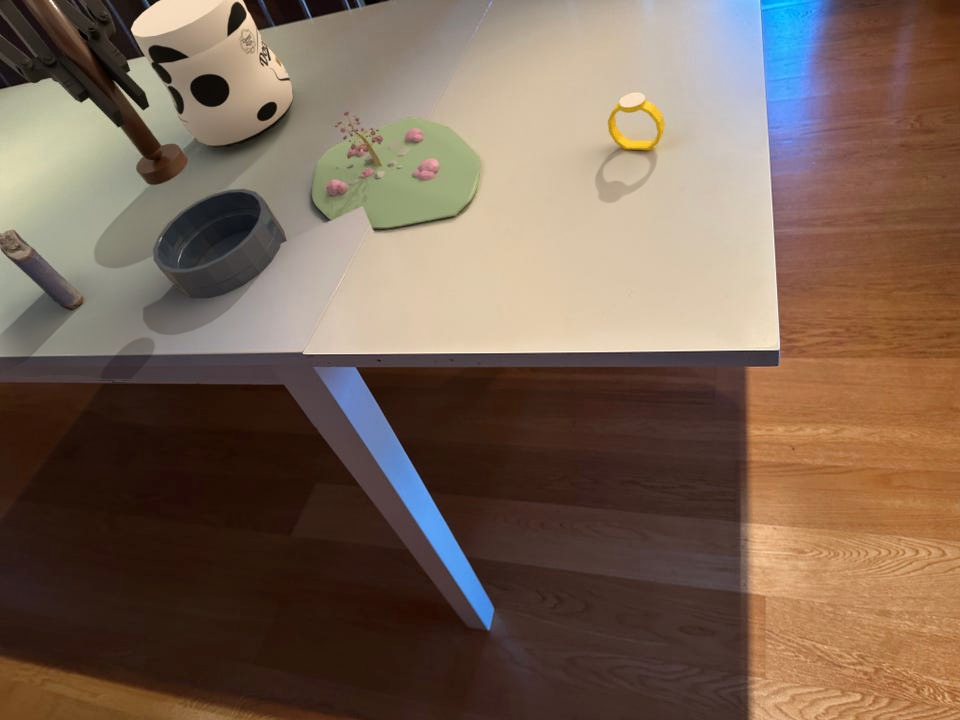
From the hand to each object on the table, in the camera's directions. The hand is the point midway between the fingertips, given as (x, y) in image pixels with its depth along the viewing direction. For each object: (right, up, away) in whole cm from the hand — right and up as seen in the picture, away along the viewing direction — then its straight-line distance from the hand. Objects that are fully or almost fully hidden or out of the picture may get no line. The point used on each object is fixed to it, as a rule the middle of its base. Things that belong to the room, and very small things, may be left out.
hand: (131, 109), depth 63 cm
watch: (+51, 0, +12) cm, 52 cm away
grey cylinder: (-21, -15, +25) cm, 36 cm away
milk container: (-3, +13, +41) cm, 43 cm away
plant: (+23, 0, +21) cm, 31 cm away
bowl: (+3, -12, +18) cm, 22 cm away
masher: (-1, -3, +8) cm, 9 cm away
